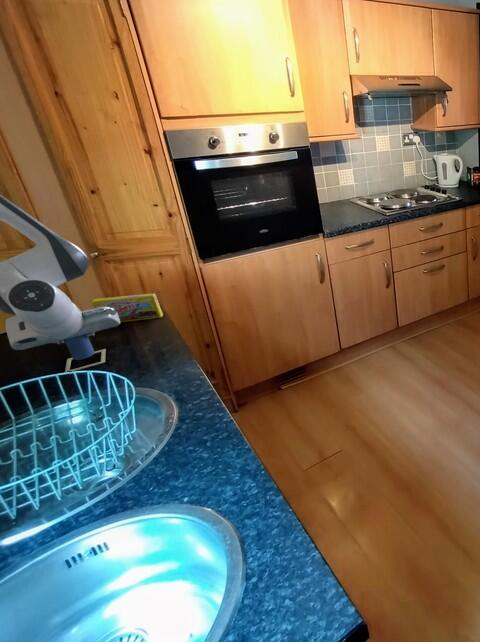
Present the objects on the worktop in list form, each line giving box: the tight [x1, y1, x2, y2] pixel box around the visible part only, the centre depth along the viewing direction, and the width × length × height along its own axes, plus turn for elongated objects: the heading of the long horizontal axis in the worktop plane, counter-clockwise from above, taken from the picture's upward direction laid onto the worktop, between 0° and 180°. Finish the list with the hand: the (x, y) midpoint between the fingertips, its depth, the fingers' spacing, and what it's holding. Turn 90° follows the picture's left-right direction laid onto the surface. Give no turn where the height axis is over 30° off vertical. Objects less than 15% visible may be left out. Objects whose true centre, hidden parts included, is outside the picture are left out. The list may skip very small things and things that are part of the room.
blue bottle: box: [64, 334, 96, 361], centre depth 119 cm, size 4×4×12 cm
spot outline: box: [64, 348, 107, 373], centre depth 122 cm, size 8×8×1 cm
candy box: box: [91, 292, 164, 323], centre depth 141 cm, size 16×2×8 cm, turn 106°
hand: (76, 337), depth 120 cm, fingers closed on blue bottle, 4 cm apart
